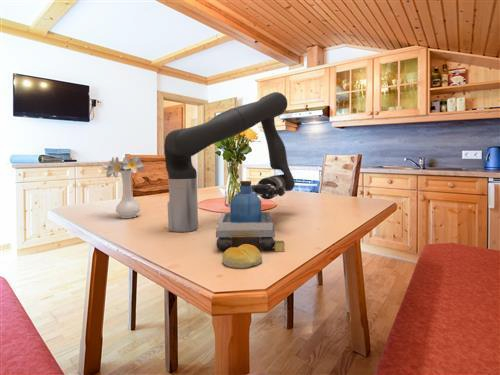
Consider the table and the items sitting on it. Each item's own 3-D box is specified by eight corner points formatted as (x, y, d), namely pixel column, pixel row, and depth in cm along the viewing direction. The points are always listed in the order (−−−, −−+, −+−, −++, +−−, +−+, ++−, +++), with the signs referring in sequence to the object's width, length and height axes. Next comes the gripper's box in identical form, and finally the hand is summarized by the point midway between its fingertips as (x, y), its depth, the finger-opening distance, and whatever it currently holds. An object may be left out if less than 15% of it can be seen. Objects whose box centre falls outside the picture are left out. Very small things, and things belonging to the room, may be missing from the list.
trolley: (216, 252, 73) (215, 223, 73) (221, 236, 88) (221, 212, 87) (284, 251, 73) (284, 223, 73) (278, 235, 88) (278, 211, 88)
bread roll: (216, 261, 68) (216, 245, 68) (249, 254, 73) (248, 238, 72) (233, 273, 61) (233, 255, 61) (268, 264, 66) (268, 247, 65)
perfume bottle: (249, 227, 76) (249, 182, 75) (230, 225, 79) (229, 181, 78) (261, 223, 81) (261, 180, 80) (242, 220, 85) (242, 180, 83)
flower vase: (119, 213, 126) (116, 155, 124) (155, 215, 121) (153, 155, 118) (95, 219, 114) (91, 155, 111) (135, 222, 109) (131, 155, 106)
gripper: (251, 176, 105) (234, 180, 90) (290, 177, 100) (278, 181, 85) (251, 196, 106) (234, 204, 91) (289, 198, 101) (278, 206, 86)
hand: (255, 193), depth 88 cm, fingers open, 8 cm apart
